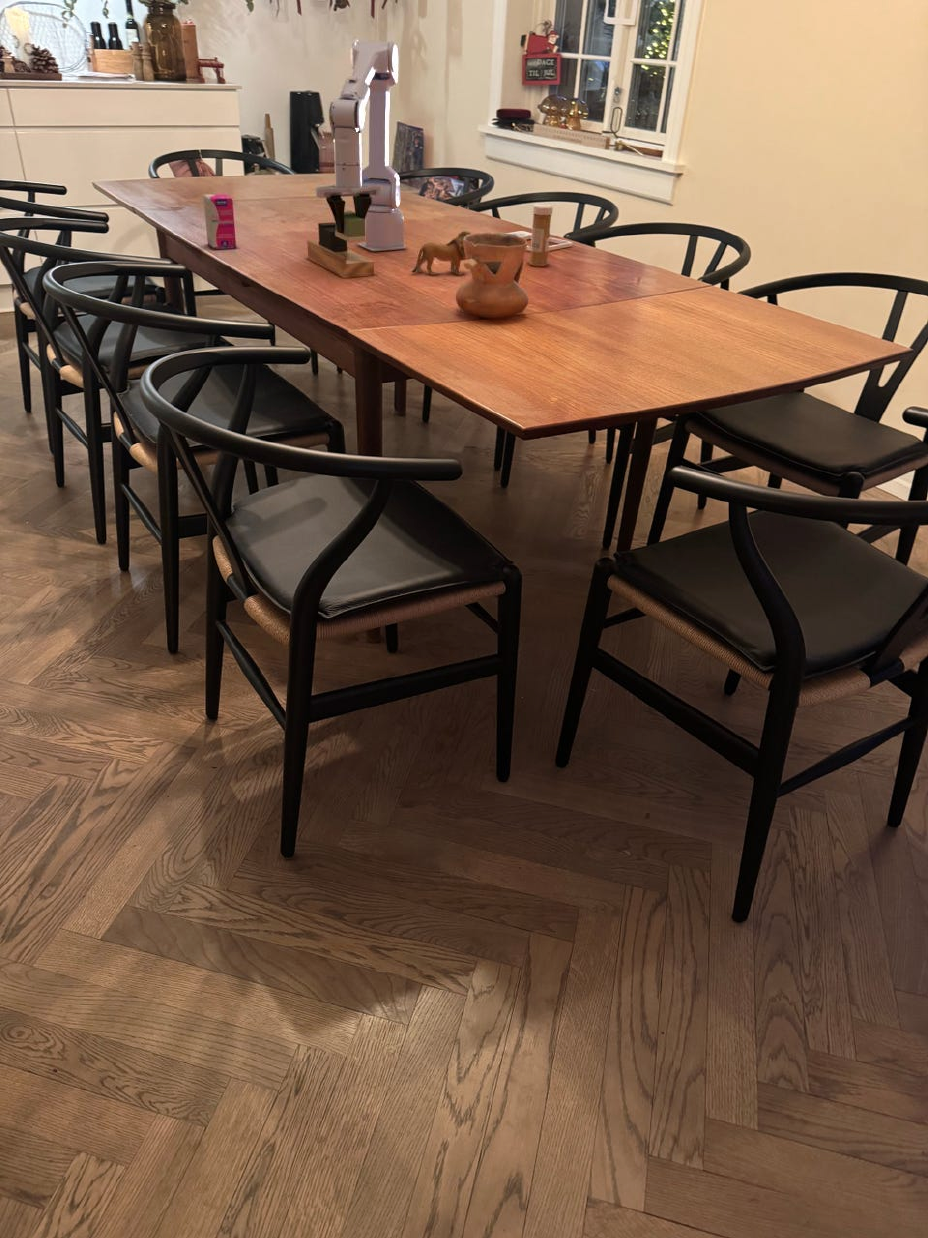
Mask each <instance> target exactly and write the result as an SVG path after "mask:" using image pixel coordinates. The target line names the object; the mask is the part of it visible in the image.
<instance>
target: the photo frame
mask: <svg viewBox="0 0 928 1238" xmlns="http://www.w3.org/2000/svg"><path fill="white" fill-rule="evenodd" d="M505 234H513V235H517V236H519V237H523V238H524V239H526V240H531V236H532V232H528V231H524V230H519V231H512V232H507V233H505ZM549 243H554V244H552V245H549V250H548V252H551V251H556V250H560V249H564V248H569V247H573V246H574V242H572V241H569V240H565V239H560V238H555V237H552V236H551V237H550V238H549ZM526 251H527V252H531V246H529V245H527V247H526Z"/></svg>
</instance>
